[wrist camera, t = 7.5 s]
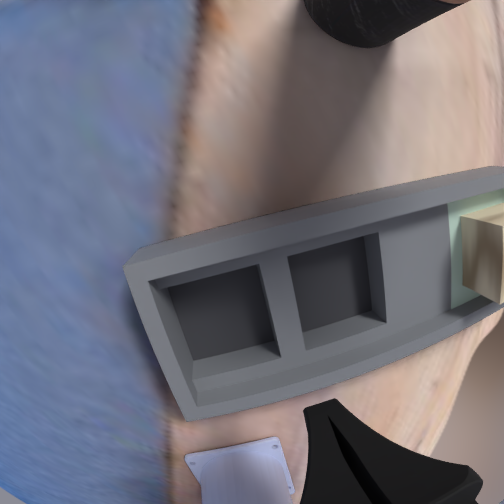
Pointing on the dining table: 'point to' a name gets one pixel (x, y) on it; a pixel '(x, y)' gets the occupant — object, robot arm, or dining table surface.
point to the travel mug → (374, 18)
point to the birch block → (484, 252)
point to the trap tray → (310, 292)
